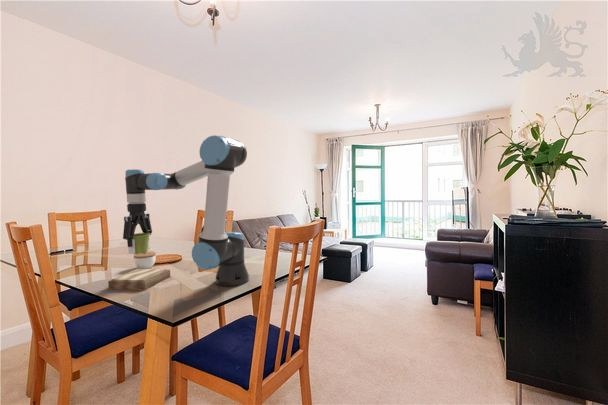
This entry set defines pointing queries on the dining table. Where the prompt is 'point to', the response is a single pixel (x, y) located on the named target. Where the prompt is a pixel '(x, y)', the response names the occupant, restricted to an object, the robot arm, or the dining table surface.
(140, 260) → the lidded jar
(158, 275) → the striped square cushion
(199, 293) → the dining table surface
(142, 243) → the plant pot
